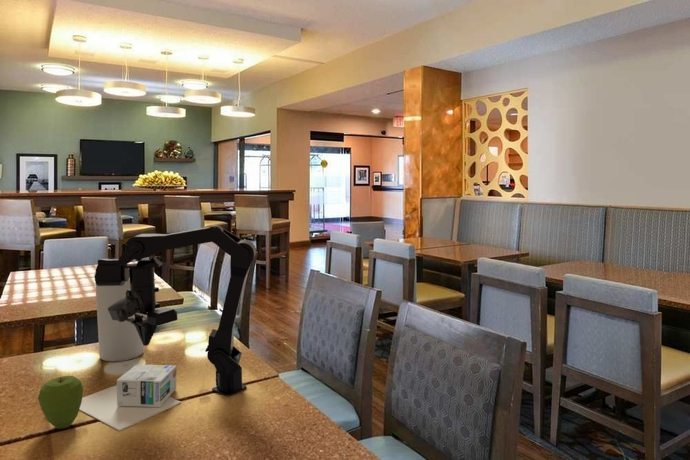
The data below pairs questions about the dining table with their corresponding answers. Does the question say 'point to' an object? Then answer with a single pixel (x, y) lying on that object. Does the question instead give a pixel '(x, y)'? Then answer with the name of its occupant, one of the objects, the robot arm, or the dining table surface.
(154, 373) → the light bulb box
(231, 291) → the robot arm
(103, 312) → the cylinder vase
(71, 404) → the apple
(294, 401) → the dining table surface
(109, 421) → the placemat
